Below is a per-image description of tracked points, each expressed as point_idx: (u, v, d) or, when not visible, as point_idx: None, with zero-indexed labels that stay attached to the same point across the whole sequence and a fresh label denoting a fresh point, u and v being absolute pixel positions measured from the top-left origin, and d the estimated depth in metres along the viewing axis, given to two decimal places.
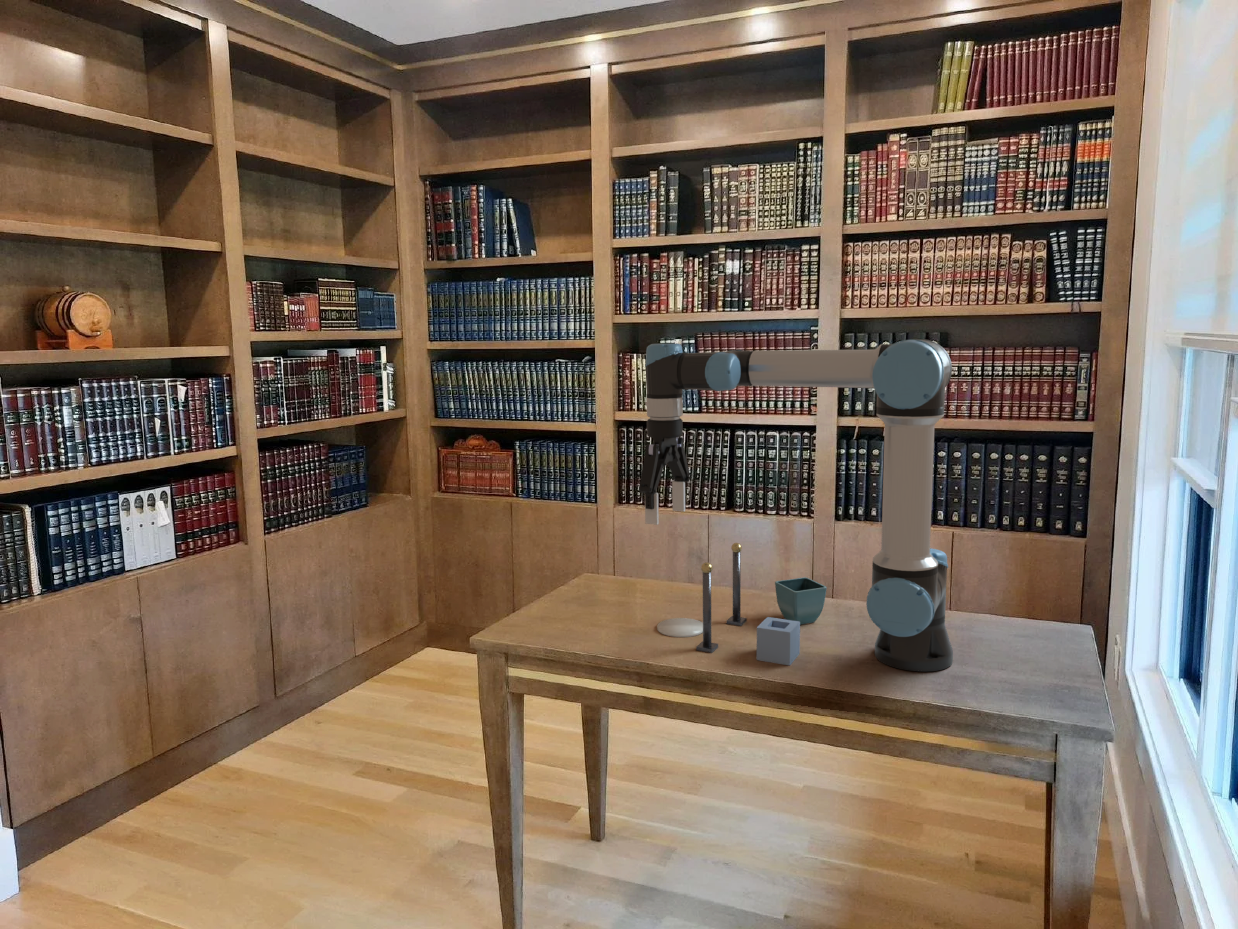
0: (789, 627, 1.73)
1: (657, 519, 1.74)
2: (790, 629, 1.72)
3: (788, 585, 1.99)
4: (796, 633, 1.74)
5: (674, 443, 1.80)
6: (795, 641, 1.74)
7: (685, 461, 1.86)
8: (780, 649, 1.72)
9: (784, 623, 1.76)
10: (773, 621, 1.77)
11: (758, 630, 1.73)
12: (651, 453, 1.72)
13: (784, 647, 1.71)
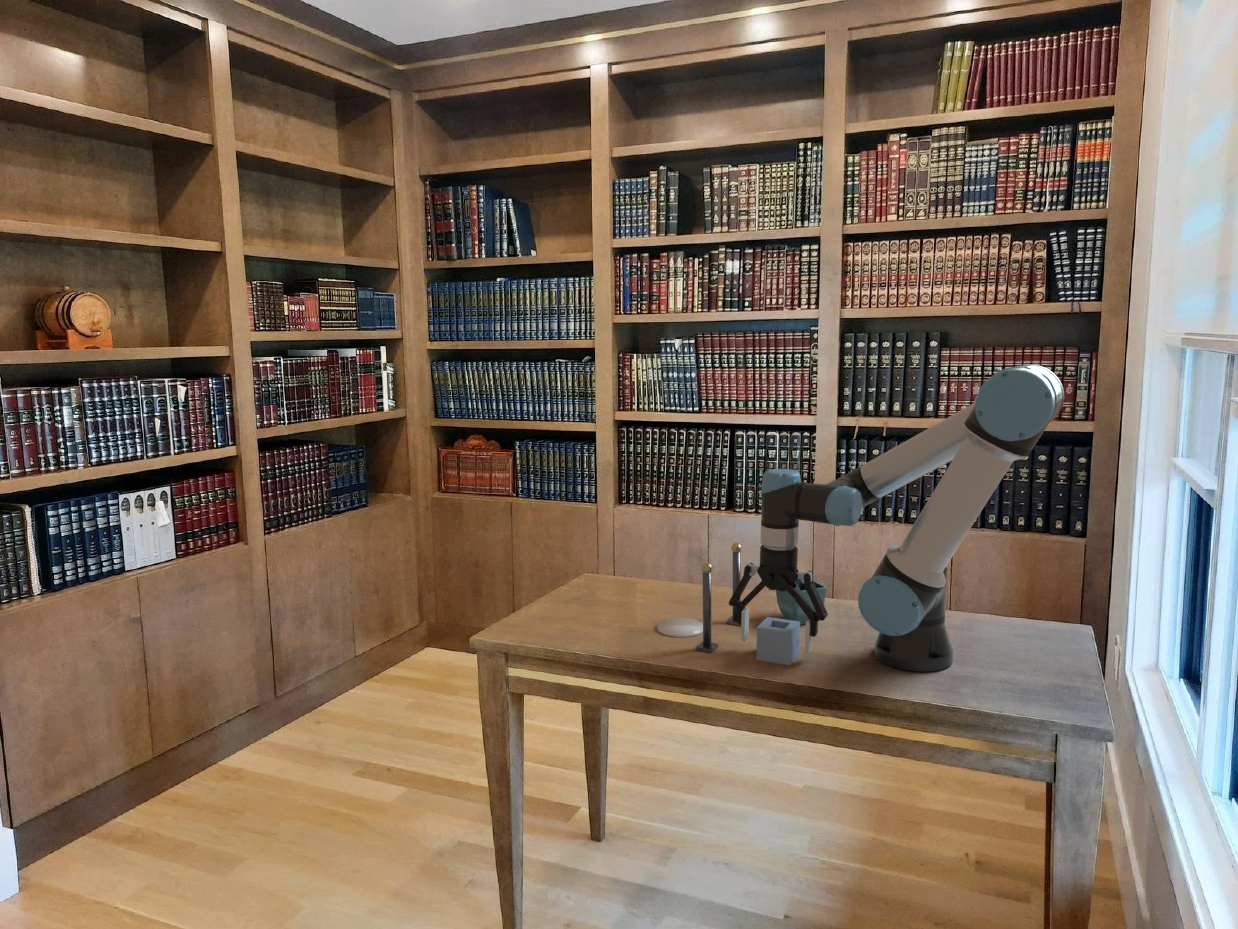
0: (789, 627, 1.73)
1: (741, 635, 1.78)
2: (790, 629, 1.72)
3: None
4: (796, 633, 1.74)
5: (788, 575, 1.71)
6: (795, 641, 1.74)
7: (814, 601, 1.69)
8: (780, 649, 1.72)
9: (784, 623, 1.76)
10: (773, 621, 1.77)
11: (758, 630, 1.73)
12: None
13: (784, 647, 1.71)
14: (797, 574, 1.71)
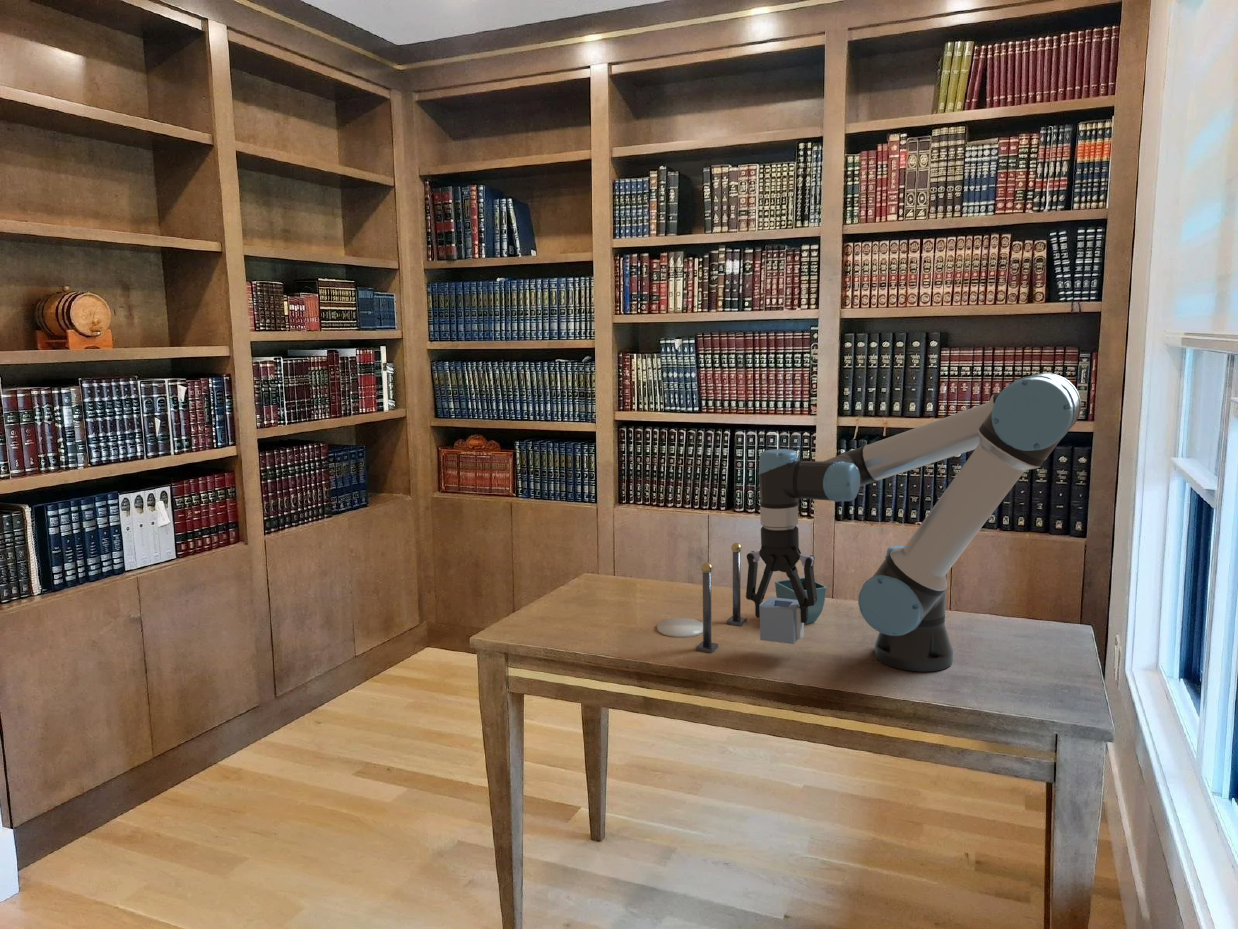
0: (792, 606, 1.72)
1: None
2: (793, 608, 1.71)
3: (788, 585, 1.99)
4: None
5: (790, 554, 1.70)
6: None
7: (808, 586, 1.69)
8: (783, 628, 1.71)
9: (787, 602, 1.75)
10: (776, 601, 1.76)
11: (761, 609, 1.72)
12: None
13: (787, 626, 1.70)
14: (799, 556, 1.70)
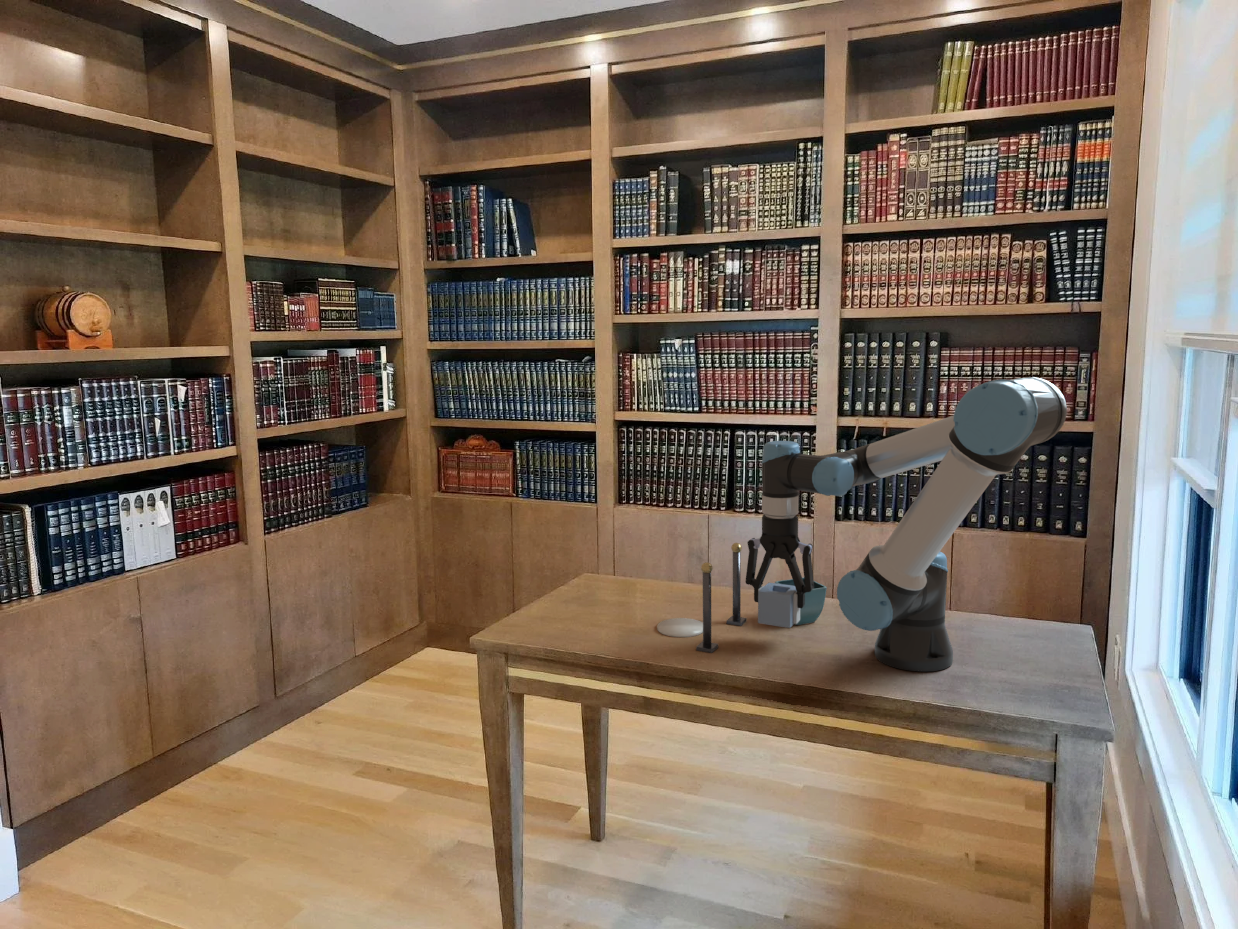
0: (790, 591, 1.79)
1: None
2: (790, 593, 1.78)
3: None
4: None
5: (789, 542, 1.77)
6: None
7: (806, 573, 1.77)
8: (781, 612, 1.78)
9: (785, 588, 1.83)
10: (774, 586, 1.84)
11: (759, 594, 1.80)
12: None
13: (785, 610, 1.78)
14: (798, 544, 1.77)
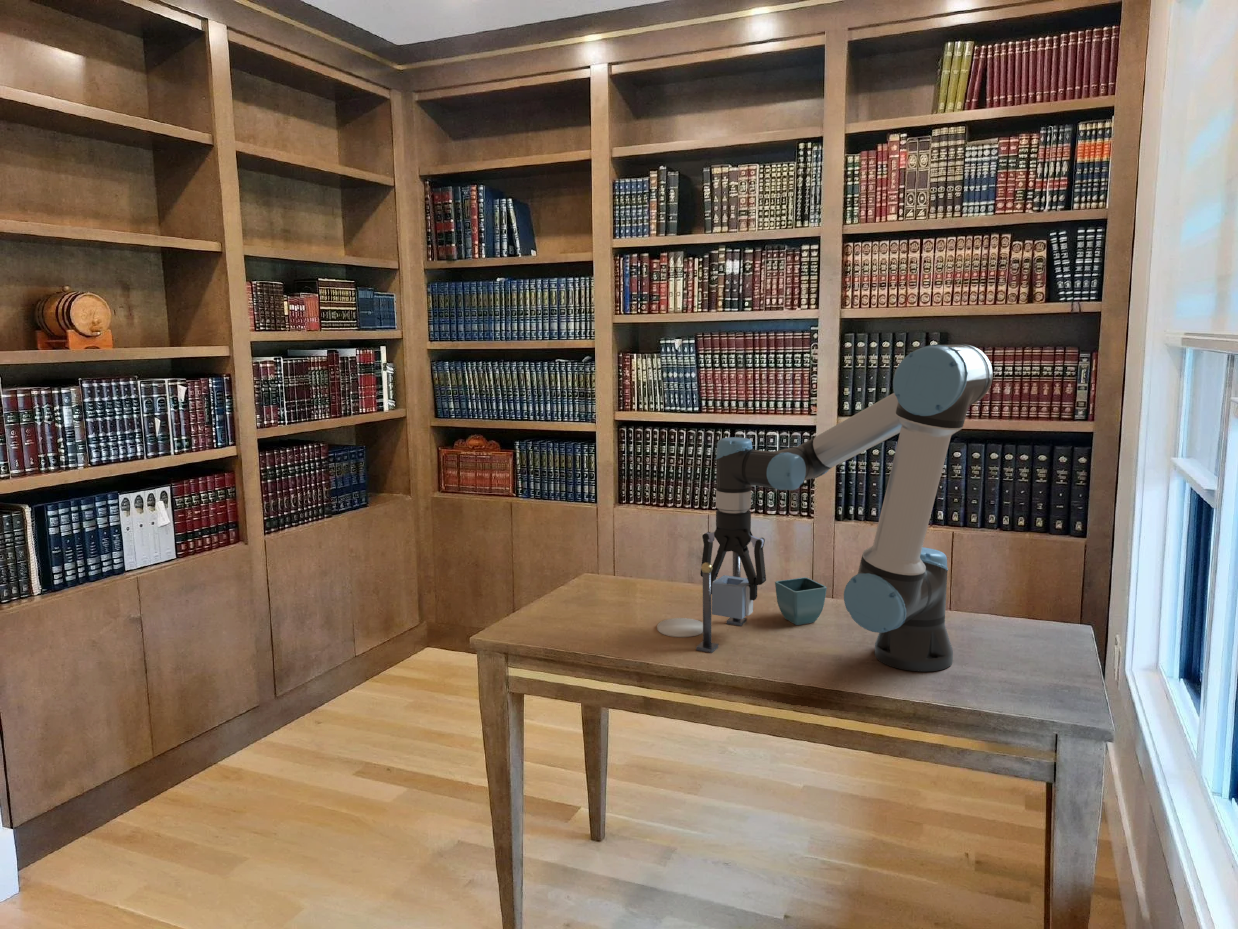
0: (742, 584, 1.84)
1: None
2: (743, 585, 1.83)
3: (788, 585, 1.99)
4: None
5: (742, 536, 1.82)
6: None
7: (758, 566, 1.81)
8: (733, 604, 1.83)
9: (738, 580, 1.87)
10: (728, 579, 1.89)
11: (713, 586, 1.85)
12: None
13: (737, 602, 1.83)
14: (750, 537, 1.82)
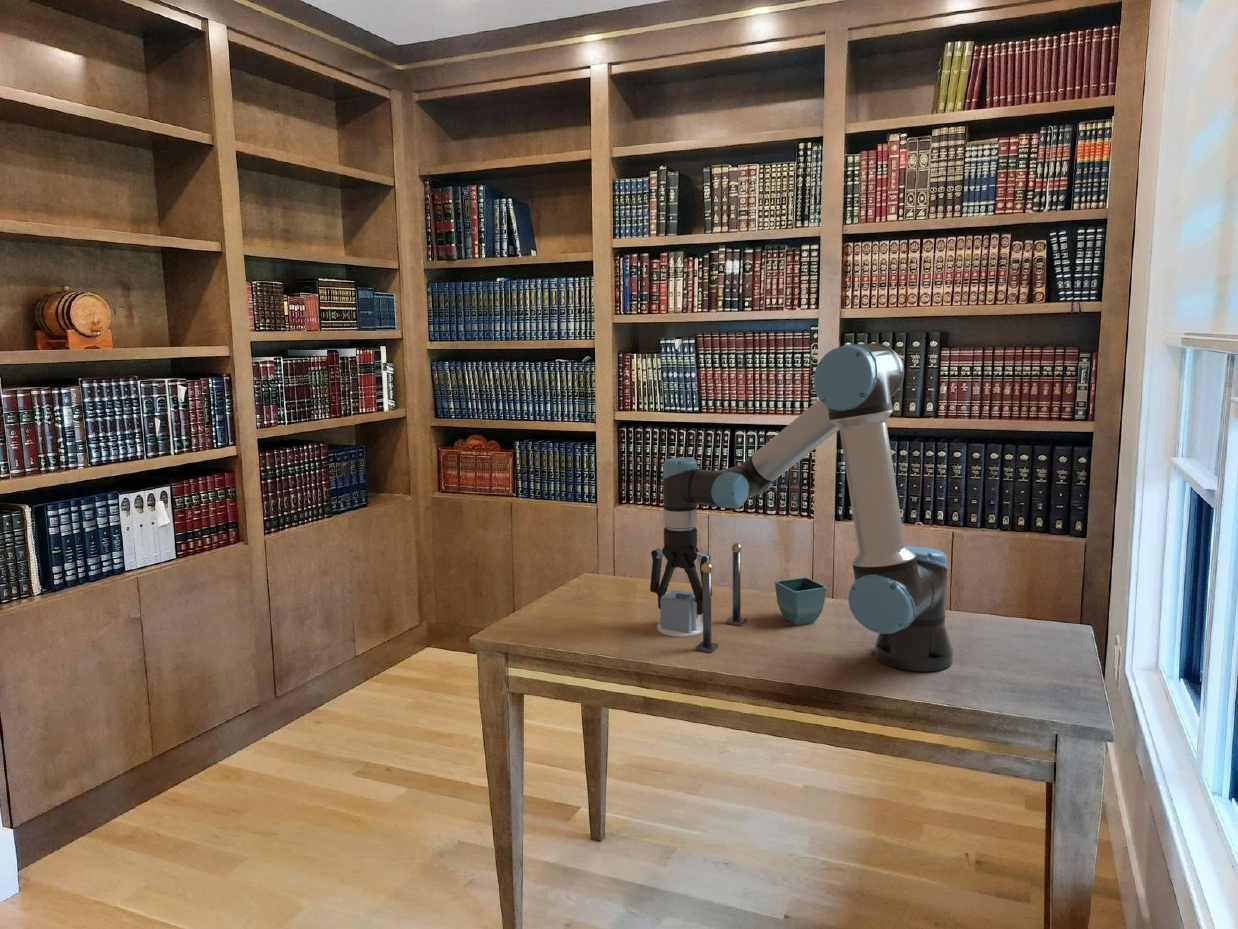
0: (690, 599, 1.91)
1: None
2: (689, 600, 1.90)
3: (788, 585, 1.99)
4: None
5: (688, 552, 1.89)
6: None
7: None
8: (680, 618, 1.89)
9: (686, 595, 1.94)
10: (677, 594, 1.95)
11: (661, 601, 1.91)
12: None
13: (684, 616, 1.89)
14: (696, 554, 1.88)
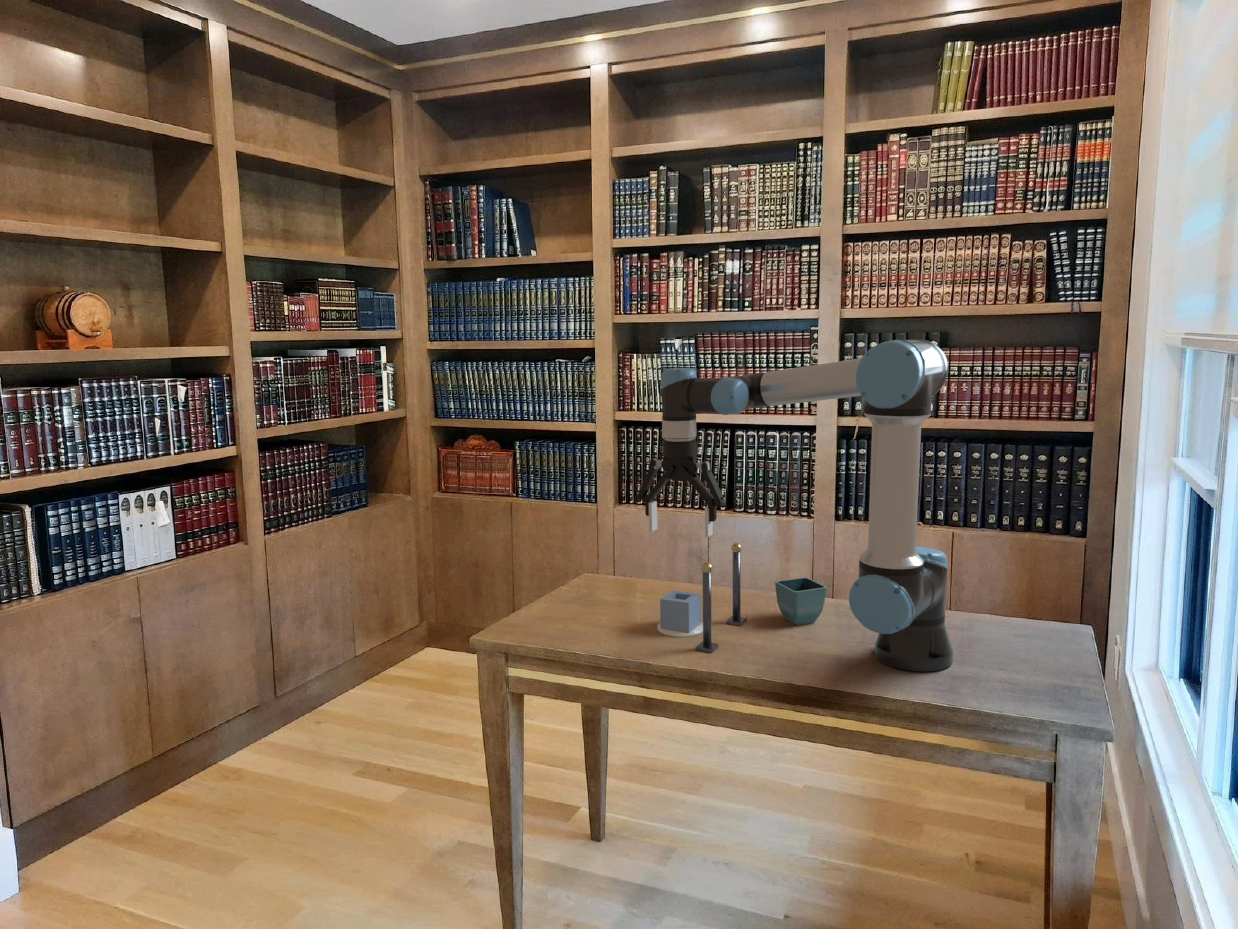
0: (689, 599, 1.91)
1: (649, 526, 1.92)
2: (689, 600, 1.90)
3: (788, 585, 1.99)
4: (696, 604, 1.92)
5: (687, 465, 1.86)
6: (695, 611, 1.92)
7: (711, 488, 1.84)
8: (680, 618, 1.89)
9: (686, 595, 1.94)
10: (677, 594, 1.95)
11: (661, 601, 1.91)
12: None
13: (684, 616, 1.89)
14: (696, 464, 1.85)
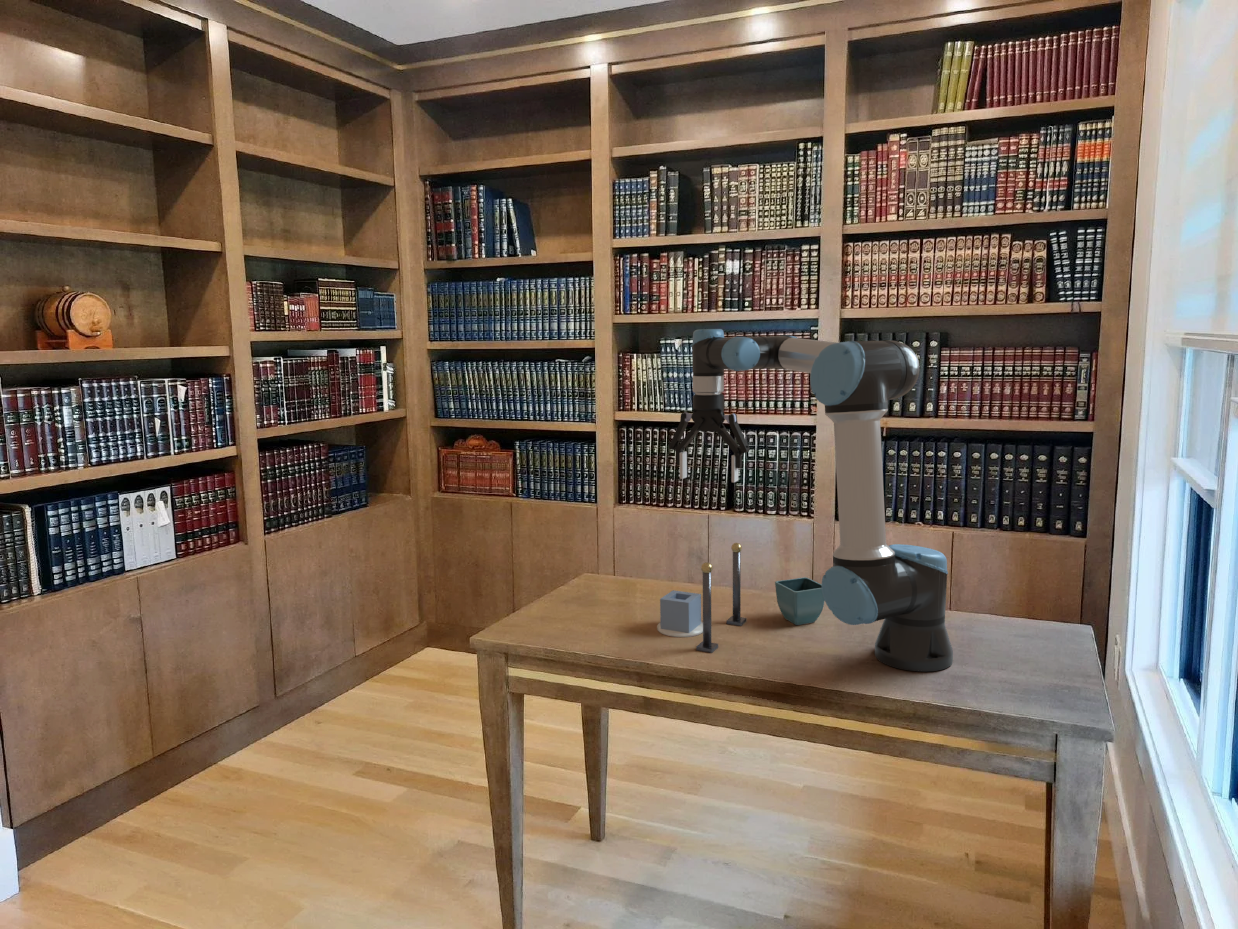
0: (689, 599, 1.91)
1: (680, 473, 2.11)
2: (689, 600, 1.90)
3: (788, 585, 1.99)
4: (696, 604, 1.92)
5: (716, 417, 2.04)
6: (695, 611, 1.92)
7: (737, 437, 2.03)
8: (680, 618, 1.89)
9: (686, 595, 1.94)
10: (677, 594, 1.95)
11: (661, 601, 1.91)
12: None
13: (684, 616, 1.89)
14: (723, 416, 2.04)
